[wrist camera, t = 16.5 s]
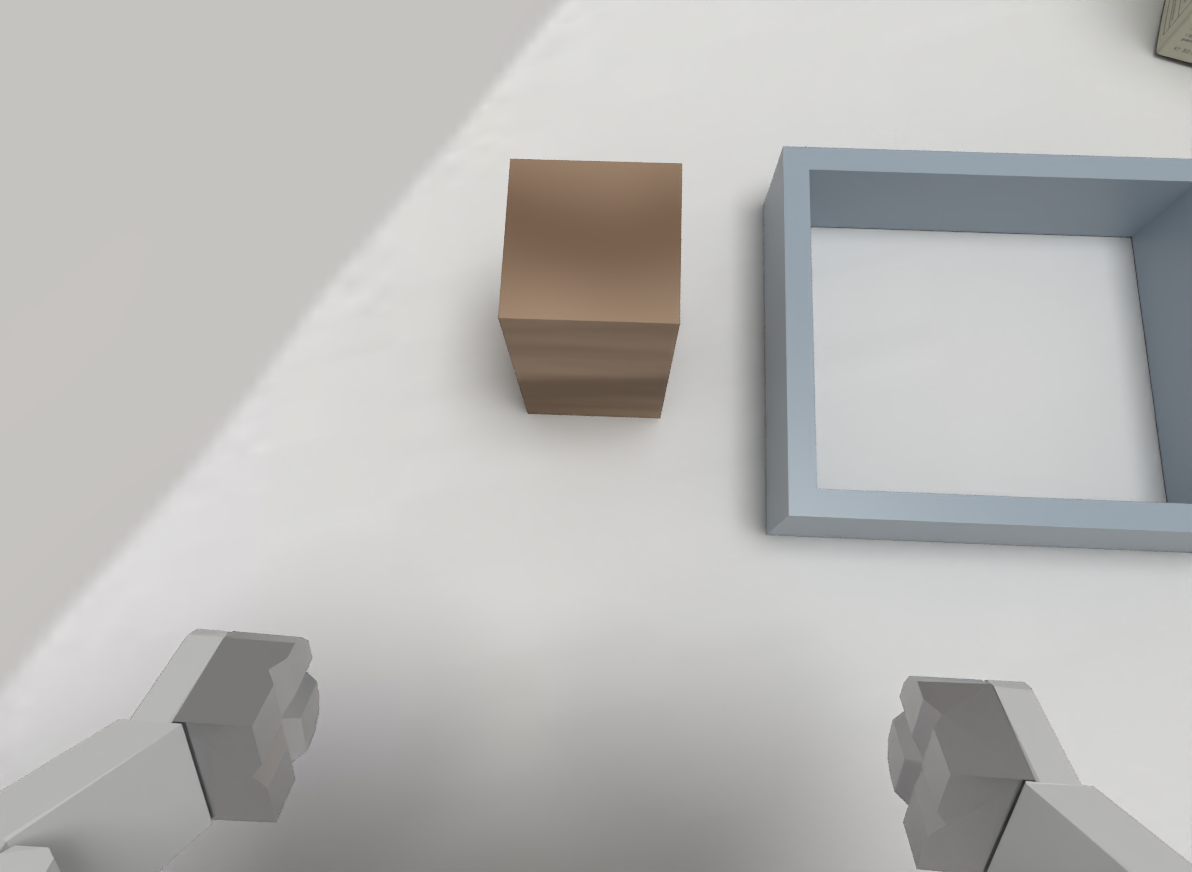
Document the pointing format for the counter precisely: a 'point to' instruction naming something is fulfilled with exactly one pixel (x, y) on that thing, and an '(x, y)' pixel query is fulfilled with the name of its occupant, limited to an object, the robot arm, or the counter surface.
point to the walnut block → (592, 284)
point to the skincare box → (1176, 30)
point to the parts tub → (976, 204)
